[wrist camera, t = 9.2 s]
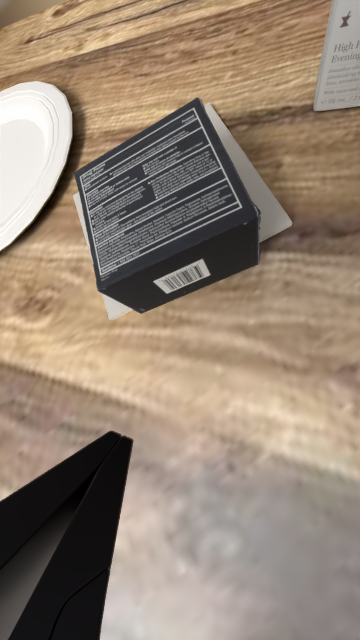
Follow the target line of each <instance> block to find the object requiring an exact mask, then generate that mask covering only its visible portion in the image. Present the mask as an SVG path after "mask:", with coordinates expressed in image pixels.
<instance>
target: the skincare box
mask: <svg viewBox="0 0 360 640" xmlns="http://www.w3.org/2000/svg"><path fill="white" fill-rule="evenodd" d="M357 106H360V0H332V4H331V9H330V15H329V20H328V25H327V30H326V36H325V41H324V46H323V51H322V56H321V61H320V66H319V71H318V76H317V83H316V90H315V98H314V111H324V110H333V109H341V108H350V107H357Z"/></svg>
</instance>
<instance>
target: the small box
mask: <svg viewBox="0 0 360 640" xmlns="http://www.w3.org/2000/svg"><path fill="white" fill-rule="evenodd" d="M74 176H75V180H76V182H77V187H78V191H79V195H80V199H81V204H82V210H83V216H84V220H85V225H86V231H87V235H88V240H89V244H90V251H91V256H92V260H93V266H94V271H95V276H96V284H97V290H98V291H99V292H100V293H102V294H104V295H106V296H108V297H110V298H112V299H114V300H115V301H117V302H119V303H121V304H123V305H125V306H127V307H129V308H131V309H133V310H134V311H136V312H138V313H141V314H142V313H144V312H146V311H149V310H151V309H153V308H156V307H158V306H160V305H163V304H165V303H167V302H170V301H172V300H174V299H177V298H179V297H181V296H184V295H186V294H188V293H191V292H193V291H196V290H198V289H200V288H203V287H205V286H208V285H210V284H212V283H215V282H217V281H220V280H222V279H224V278H226V277H229V276H231V275H234V274H236V273H238V272H241V271H243V270H246V269H248V268H250V267H253V266H255V265H257V264H259V259H260V252H261V250H260V243H259V238H260V236H259V235H260V234H259V230H260V226H259V225H260V220H261V217H260V214H261V212H260V210H259V209H258V208H257V206H256V205H255V204H254V203H253V202H252V200H251V198H250V196H249V194H248V192H247V190H246V189H245V187H244V184H243V182H242V181H241V179H240V177H239V175H238V172H237V170H236V168H235V166H234V164H233V162H232V161H231V159H230V157H229V155H228V153H227V151H226V149H225V147H224V146H223V144H222V142H221V140H220V138H219V136H218V134H217V132H216V130H215V128H214V126H213V124H212V122H211V120H210V118H209V117H208V115H207V113H206V110H205V108H204V105H203V103H202V101H201V99H200V98H196V99H194V100H193V101H191V102H189V103H188V104H186V105H184V106H183V107H181V108H179V109H178V110H176V111H175V112H173V113H171V114H169V115H168V116H166V117H165V118H163V119H161V120H160V121H158V122H156V123H155V124H153V125H151V126H150V127H148V128H146V129H145V130H143V131H142V132H140V133H138V134H136V135H135V136H133V137H132V138H130V139H128V140H127V141H125V142H123V143H122V144H120V145H118V146H117V147H115V148H114V149H112V150H110V151H108V152H107V153H105V154H104V155H102V156H100V157H99V158H97V159H95V160H94V161H92V162H90V163H89V164H87V165H86V166H84V167H82V168H81V169H79V170H78V171H76V172H74Z"/></svg>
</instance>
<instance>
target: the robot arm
mask: <svg viewBox="0 0 360 640" xmlns="http://www.w3.org/2000/svg"><path fill="white" fill-rule="evenodd" d="M132 447H133V439H132V438H129V437H127V436H122V435H121V434H120V433H117V432H115V431H109V432H107V433H106V434H104V435H103V436H101V437H100V438H98V439H97V440H95V441H93V442H92V443H90V444H89V445H87V446H86V447H84V448H83V449H81V450H79V451H78V452H76V453H75V454H73V455H72V456H70V457H69V458H67V459H65V460H64V461H62V462H61V463H59V464H58V465H56V466H55V467H53V468H51V469H50V470H48V471H47V472H45V473H44V474H42V475H41V476H39V477H37V478H36V479H34V480H33V481H31V482H30V483H28V484H27V485H25V486H23V487H22V488H20V489H19V490H17V491H16V492H14V493H13V494H11V495H9V496H8V497H6V498H5V499H3V500H2V501H0V640H100V633H101V625H102V618H103V612H104V605H105V599H106V592H107V587H108V581H109V576H110V569H111V564H112V558H113V553H114V547H115V541H116V536H117V530H118V525H119V519H120V513H121V508H122V502H123V497H124V491H125V486H126V480H127V474H128V469H129V463H130V458H131V452H132Z"/></svg>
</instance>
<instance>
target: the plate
mask: <svg viewBox="0 0 360 640" xmlns="http://www.w3.org/2000/svg"><path fill="white" fill-rule="evenodd" d="M72 140H73V113H72V111H71V108H70V105H69V103H68V100H67V98H66V96H65V95H64V94H63V93H62V92H61V91H60V90H59V89H58V88H57V87H55V86H54V85H52V84H48V83H44V82H40V81H36V82H28V83H20V84H18V85H15V86H13V87H10V88H8V89H6V90H3V91H1V92H0V252H1V251H3V250H4V249H6V248H7V247H8V246H10V245H11V244H12V243H13V242H14V241H15V240H16V239H17V238H18V237H19V236H20V235H21V234H22V233H23V232H24V231H25V230H26V229H27V228H28V227H29V226H30V225H31V224H32V223H33V222H34V221H35V219H36V218H37V216H38V215H39V214H40V212H41V211H42V209H43V208H44V206H45V205H46V203H47V202H48V200H49V199H50V198H51V196H52V195H53V193H54V191H55V188H56V186H57V184H58V182H59V180H60V178H61V176H62V173H63V171H64V169H65V167H66V164H67V160H68V156H69V152H70V148H71V144H72Z"/></svg>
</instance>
